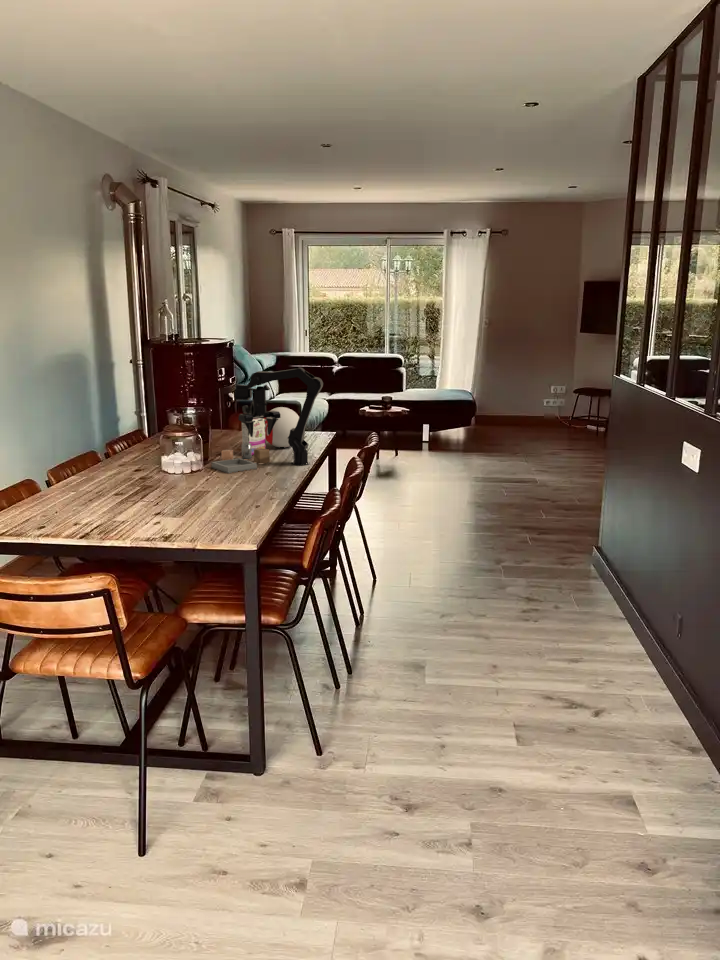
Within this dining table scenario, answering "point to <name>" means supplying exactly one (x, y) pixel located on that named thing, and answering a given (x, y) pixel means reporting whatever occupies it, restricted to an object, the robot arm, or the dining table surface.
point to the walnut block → (261, 455)
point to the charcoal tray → (234, 465)
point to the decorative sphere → (281, 427)
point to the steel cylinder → (246, 451)
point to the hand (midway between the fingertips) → (260, 435)
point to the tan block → (227, 454)
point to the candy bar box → (255, 435)
